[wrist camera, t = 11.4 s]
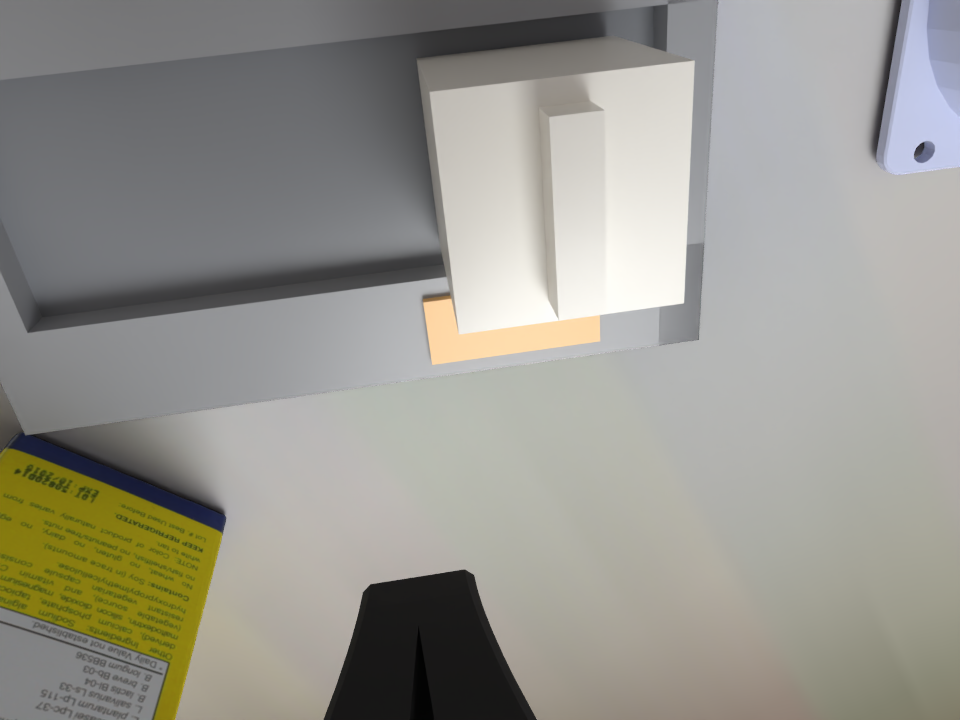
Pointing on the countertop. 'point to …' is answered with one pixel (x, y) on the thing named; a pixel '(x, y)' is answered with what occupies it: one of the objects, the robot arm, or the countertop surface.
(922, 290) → the countertop surface
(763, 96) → the countertop surface
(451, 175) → the tab
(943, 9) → the robot arm
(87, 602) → the supplement box
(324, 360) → the switch board
